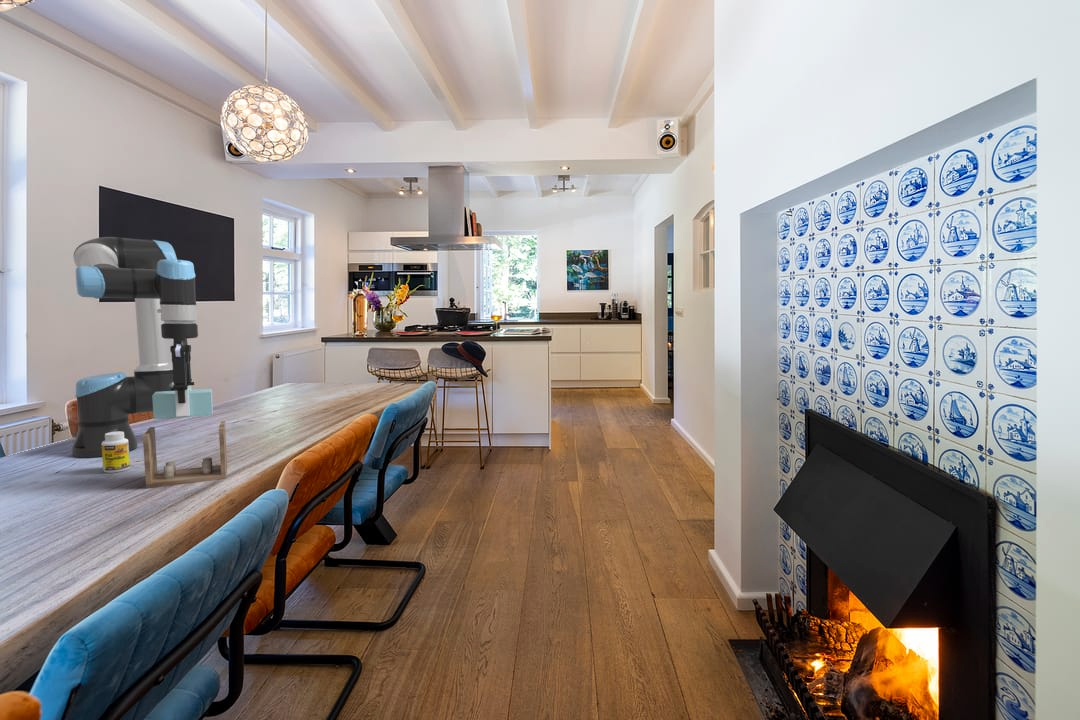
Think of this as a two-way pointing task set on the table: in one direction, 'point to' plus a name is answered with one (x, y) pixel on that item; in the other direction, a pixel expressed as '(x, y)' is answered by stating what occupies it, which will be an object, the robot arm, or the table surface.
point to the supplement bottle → (115, 452)
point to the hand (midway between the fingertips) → (184, 413)
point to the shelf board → (197, 404)
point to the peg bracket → (184, 475)
